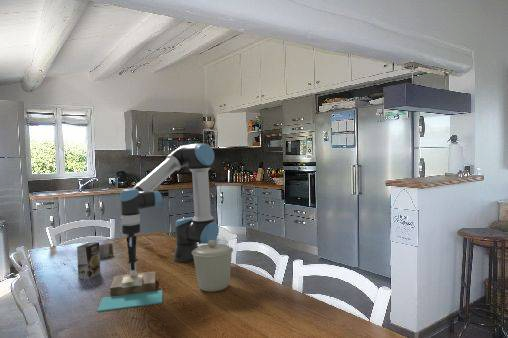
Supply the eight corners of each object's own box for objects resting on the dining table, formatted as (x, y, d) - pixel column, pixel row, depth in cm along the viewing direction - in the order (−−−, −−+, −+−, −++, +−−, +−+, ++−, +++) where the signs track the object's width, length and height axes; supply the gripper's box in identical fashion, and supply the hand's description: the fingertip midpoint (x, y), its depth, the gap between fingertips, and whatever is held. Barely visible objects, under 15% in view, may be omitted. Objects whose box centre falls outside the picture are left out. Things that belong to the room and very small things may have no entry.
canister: (240, 282, 160) (238, 236, 160) (224, 297, 143) (222, 246, 143) (204, 278, 166) (203, 234, 166) (185, 293, 149) (183, 244, 148)
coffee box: (89, 279, 171) (87, 246, 171) (77, 279, 172) (76, 246, 172) (101, 273, 180) (99, 242, 179) (90, 273, 181) (88, 241, 181)
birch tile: (142, 279, 157) (142, 274, 157) (141, 285, 149) (141, 280, 149) (123, 281, 155) (123, 276, 155) (121, 287, 147) (121, 283, 147)
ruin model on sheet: (93, 260, 205) (93, 244, 205) (92, 259, 208) (91, 243, 207) (113, 256, 213) (112, 240, 212) (111, 255, 215) (111, 239, 215)
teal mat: (162, 291, 153) (162, 290, 153) (162, 303, 140) (162, 301, 140) (102, 298, 147) (102, 297, 147) (97, 311, 134) (97, 310, 134)
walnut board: (155, 279, 168) (155, 271, 168) (155, 291, 152) (154, 282, 152) (115, 284, 163) (115, 275, 163) (110, 297, 148) (110, 287, 148)
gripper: (123, 222, 161) (126, 273, 162) (120, 227, 149) (122, 282, 150) (140, 220, 163) (143, 271, 164) (138, 225, 151) (141, 280, 151)
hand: (133, 276), depth 157 cm, fingers closed
